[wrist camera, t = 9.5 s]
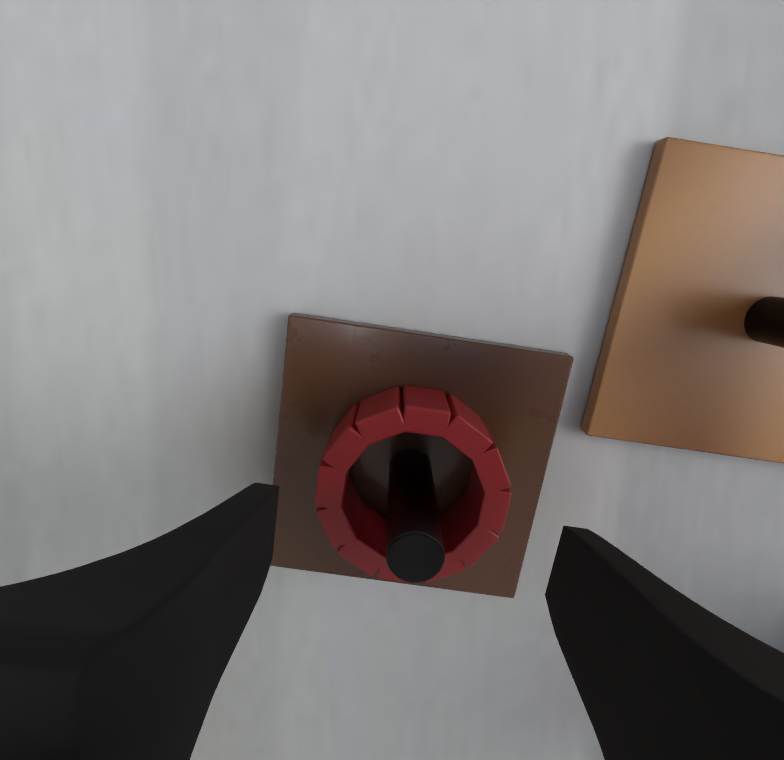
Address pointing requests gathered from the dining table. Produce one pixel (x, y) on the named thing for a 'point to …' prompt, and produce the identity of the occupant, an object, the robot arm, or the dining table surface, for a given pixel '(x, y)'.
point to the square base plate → (411, 444)
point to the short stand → (699, 309)
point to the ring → (458, 526)
